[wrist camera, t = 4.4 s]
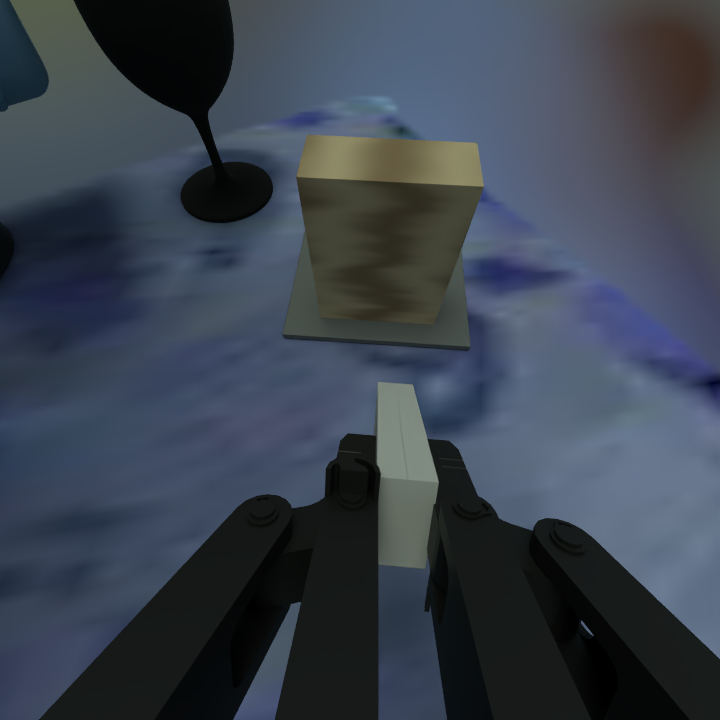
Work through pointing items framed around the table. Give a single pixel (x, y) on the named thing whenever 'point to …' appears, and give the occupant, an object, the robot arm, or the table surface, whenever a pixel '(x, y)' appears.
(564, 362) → the table surface
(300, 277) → the rubber mat
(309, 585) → the robot arm
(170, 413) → the table surface
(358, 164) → the oak board
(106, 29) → the wine glass
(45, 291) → the table surface
